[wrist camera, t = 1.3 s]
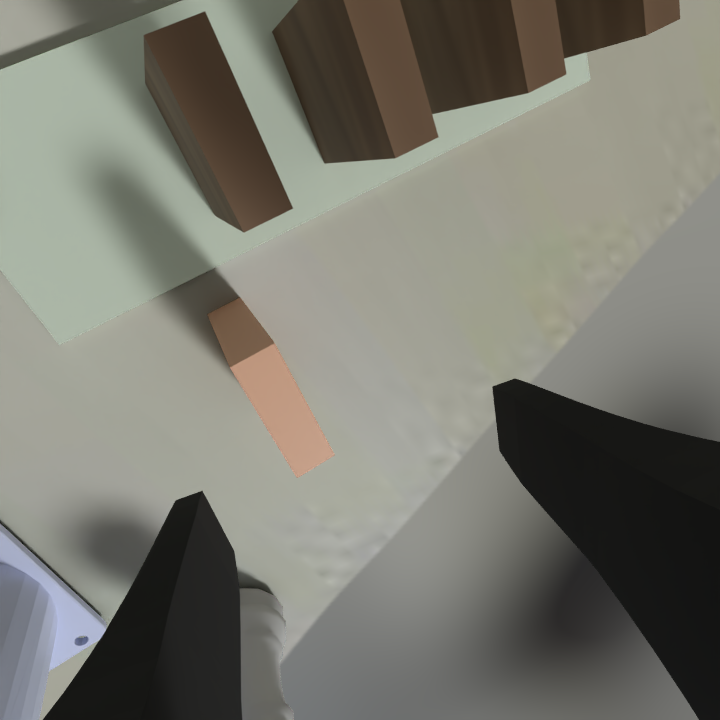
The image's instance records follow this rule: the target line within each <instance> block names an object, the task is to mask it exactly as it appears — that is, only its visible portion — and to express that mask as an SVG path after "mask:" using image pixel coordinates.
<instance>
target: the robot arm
mask: <svg viewBox="0 0 720 720" xmlns="http://www.w3.org/2000/svg"><path fill="white" fill-rule="evenodd" d="M493 396H494V405H495V414H496V423H497V432H498V441H499V449H500V452H501V454H502V455H503V456H504V458H505V460H506V461H507V463H508V464H509V466H510V467H511V469H512V470H513V472H514V473H515V475H516V476H517V477H518V479H519V480H520V482H521V483H522V485H523V486H524V487H525V488H526V489H527V490H528V492H529V493H530V494H531V495H532V496H533V497H534V498H535V500H536V501H537V502H538V503H539V504H540V505H541V506H542V508H543V509H544V510H545V511H546V512H547V513H548V514H549V516H550V517H551V518H552V519H553V520H554V521H555V522H556V523H557V524H558V526H559V527H560V528H561V529H562V530H563V531H564V533H565V534H566V535H567V536H568V537H569V538H570V539H571V540H572V542H573V543H574V544H575V545H576V546H577V547H578V548H579V549H580V550H581V552H582V553H583V554H584V555H585V556H586V558H587V559H588V560H589V561H590V562H591V564H592V565H593V566H594V567H595V569H596V570H597V571H598V572H599V574H600V575H601V576H602V578H603V579H604V580H605V582H606V583H607V585H608V586H609V587H610V589H611V590H612V592H613V593H614V594H615V596H616V597H617V598H618V600H619V601H620V603H621V604H622V605H623V607H624V608H625V610H626V611H627V612H628V614H629V615H630V617H631V618H632V619H633V621H634V622H635V624H636V625H637V627H638V628H639V630H640V631H641V633H642V634H643V635H644V637H645V638H646V640H647V641H648V643H649V644H650V645H651V647H652V648H653V650H654V651H655V653H656V654H657V656H658V657H659V659H660V660H661V662H662V663H663V665H664V666H665V668H666V669H667V671H668V672H669V674H670V675H671V677H672V678H673V680H674V682H675V683H676V685H677V686H678V688H679V689H680V691H681V692H682V694H683V695H684V697H685V698H686V700H687V701H688V703H689V704H690V706H691V708H692V709H693V711H694V712H695V714H696V716H697V717H698V719H699V720H720V442H717V441H713V440H707V439H703V438H698V437H694V436H690V435H686V434H682V433H677V432H673V431H669V430H665V429H661V428H657V427H654V426H650V425H647V424H643V423H640V422H636V421H633V420H630V419H627V418H624V417H620V416H617V415H614V414H611V413H608V412H605V411H602V410H599V409H597V408H594V407H591V406H588V405H585V404H583V403H580V402H577V401H574V400H572V399H569V398H566V397H564V396H561V395H558V394H556V393H553V392H551V391H548V390H545V389H543V388H540V387H537V386H535V385H532V384H529V383H527V382H524V381H521V380H518V379H513V380H510V381H507V382H504V383H501V384H499V385H496V386H493ZM79 636H86V637H84V638H78V637H79ZM98 640H99V642H98V643H97V645H96V646H95V648H94V650H93V651H92V653H91V654H90V656H89V657H88V659H87V660H86V661H85V663H84V664H83V666H82V667H81V669H80V670H79V672H78V673H77V674H76V676H75V677H74V679H73V680H72V682H71V683H70V684H69V686H68V687H67V689H66V690H65V691H64V693H63V694H62V695H61V697H60V698H59V699H58V701H57V702H56V703H55V705H54V706H53V707H52V708H51V710H50V711H49V712H48V714H47V715H46V716H45V718H44V719H43V720H242V703H241V621H240V590H239V582H238V574H237V567H236V560H235V553H234V550H233V548H232V546H231V544H230V542H229V540H228V539H227V537H226V535H225V533H224V531H223V529H222V527H221V525H220V523H219V521H218V520H217V518H216V516H215V514H214V512H213V510H212V508H211V506H210V504H209V502H208V501H207V499H206V497H205V495H204V493H203V491H201V492H198V493H195V494H192V495H189V496H187V497H184V498H181V499H178V500H176V501H175V503H174V505H173V507H172V508H171V510H170V512H169V514H168V516H167V518H166V520H165V522H164V524H163V526H162V528H161V530H160V532H159V534H158V536H157V538H156V540H155V542H154V544H153V546H152V548H151V550H150V552H149V554H148V556H147V558H146V560H145V562H144V564H143V566H142V567H141V569H140V571H139V573H138V575H137V577H136V579H135V581H134V583H133V584H132V586H131V588H130V590H129V592H128V593H127V595H126V597H125V599H124V600H123V602H122V604H121V605H120V607H119V609H118V611H117V612H116V614H115V616H114V617H113V619H112V621H111V622H110V624H109V626H108V628H107V629H106V622H105V620H104V619H103V618H102V617H101V616H100V615H98V614H97V613H96V612H95V611H94V610H93V609H92V608H91V607H90V606H89V605H88V604H87V603H85V602H84V601H83V600H82V599H81V598H80V597H79V596H78V595H77V594H76V593H75V592H74V591H73V590H71V589H70V588H69V587H68V586H67V585H66V584H65V583H64V582H63V581H62V580H61V579H60V578H59V577H57V576H56V575H55V574H54V573H53V572H52V571H51V570H50V569H49V568H48V567H47V566H46V565H44V564H43V563H42V562H41V561H40V560H39V559H38V558H37V557H36V556H35V555H34V554H33V553H32V552H30V551H29V550H28V549H27V548H26V547H25V546H24V545H23V544H22V543H21V542H20V541H19V540H18V539H16V538H15V537H14V536H13V535H12V534H11V533H10V532H9V531H8V530H7V529H6V528H5V527H3V526H2V525H1V524H0V720H39V718H40V713H41V708H42V703H43V698H44V693H45V688H46V683H47V678H48V673H49V671H50V670H52V669H53V668H55V667H56V666H58V665H60V664H61V663H63V662H64V661H66V660H68V659H69V658H71V657H72V656H74V655H76V654H77V653H79V652H80V651H82V650H84V649H85V648H87V647H88V646H90V645H92V644H93V643H95V642H96V641H98Z"/></svg>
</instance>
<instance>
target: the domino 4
mask: <svg viewBox="0 0 720 720" xmlns="http://www.w3.org/2000/svg"><path fill="white" fill-rule="evenodd" d="M555 2H556V9H557V15H558V22H559V28H560V35H561V41H562V48H563V54H564V59H565V58H568V57H572V56H575V55H579V54H582V53H586V52H590V51H593V50H597V49H600V48H604V47H607V46H611V45H614V44H618V43H621V42H625V41H628V40H632V39H635V38H639V37H642V36H646V35H648V34H650V33H652V32H654V31H656V30H658V29H660V28H662V27H664V26H666V25H668V24H670V23H672V22H675V21H677V20H679V19H680V8H679V0H555Z"/></svg>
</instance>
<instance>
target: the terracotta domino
mask: <svg viewBox="0 0 720 720" xmlns="http://www.w3.org/2000/svg"><path fill="white" fill-rule="evenodd" d="M207 315H208V317H209V320H210V322H211V324H212V327H213V329H214V331H215V334H216V336H217V338H218V341H219V343H220V345H221V348H222V350H223V352H224V355H225V357H226V359H227V362H228V364H229V366H230V368H231V370H232V372H233V373H234V375H235V377H236V378H237V380H238V382H239V383H240V385H241V386H242V388H243V390H244V391H245V393H246V395H247V396H248V398H249V400H250V401H251V403H252V405H253V406H254V408H255V410H256V411H257V413H258V415H259V416H260V418H261V419H262V421H263V423H264V424H265V426H266V428H267V429H268V431H269V433H270V434H271V436H272V438H273V439H274V441H275V443H276V444H277V446H278V448H279V449H280V451H281V452H282V454H283V456H284V457H285V459H286V461H287V462H288V464H289V466H290V467H291V469H292V471H293V472H294V474H295V476H296V477H297V478H298V477H300V476H301V475H303V474H305V473H306V472H308V471H310V470H311V469H313V468H314V467H316V466H318V465H319V464H321V463H323V462H324V461H326V460H328V459H329V458H331V457H333V456H334V455H335V454H334V452H333V451H332V449H331V447H330V445H329V443H328V441H327V439H326V438H325V436H324V434H323V432H322V430H321V428H320V426H319V425H318V423H317V421H316V419H315V417H314V415H313V413H312V412H311V410H310V408H309V406H308V404H307V402H306V400H305V399H304V397H303V395H302V393H301V391H300V389H299V387H298V386H297V384H296V382H295V380H294V378H293V376H292V374H291V373H290V371H289V369H288V367H287V365H286V363H285V361H284V359H283V358H282V356H281V354H280V352H279V350H278V348H277V346H276V345H275V343H274V342H273V340H272V339H271V338H270V336H269V335H268V334H267V332H266V331H265V330H264V328H263V327H262V326H261V324H260V323H259V322H258V320H257V319H256V318H255V317H254V315H253V314H252V313H251V311H250V310H249V309H248V307H247V306H246V305H245V303H244V302H243V301H242V299H241V298H238V299H236V300H234V301H232V302H230V303H228V304H226V305H224V306H222V307H220V308H218V309H216V310H214V311H213V312H211V313H209V314H207Z"/></svg>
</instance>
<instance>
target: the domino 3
mask: <svg viewBox="0 0 720 720" xmlns="http://www.w3.org/2000/svg"><path fill="white" fill-rule="evenodd" d="M400 2H401V5H402V9H403V12H404V16H405V20H406V23H407V27H408V30H409V34H410V37H411V41H412V44H413V48H414V51H415V55H416V59H417V62H418V66H419V69H420V73H421V76H422V80H423V83H424V87H425V91H426V94H427V98H428V101H429V105H430V108H431V112H432V114H436V113H441V112H445V111H450V110H454V109H459V108H463V107H468V106H472V105H477V104H481V103H486V102H491V101H495V100H500V99H504V98H509V97H513V96H518V95H522V94H527V93H530V92H532V91H534V90H536V89H538V88H540V87H542V86H544V85H546V84H548V83H550V82H552V81H554V80H556V79H558V78H560V77H562V76H564V75H567V74H566V67H565V61H564V54H563V48H562V41H561V35H560V28H559V22H558V15H557V9H556V2H555V0H400Z"/></svg>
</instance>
